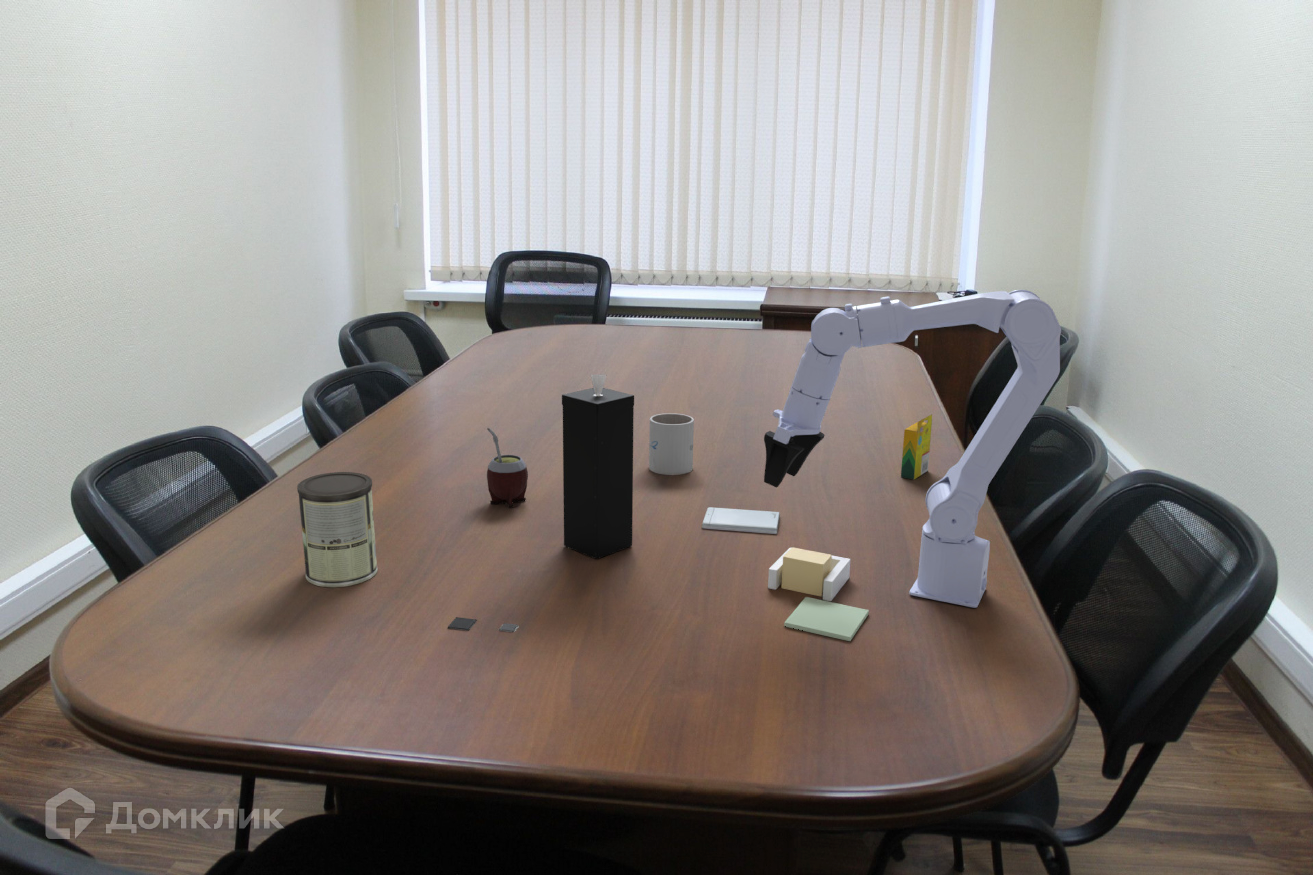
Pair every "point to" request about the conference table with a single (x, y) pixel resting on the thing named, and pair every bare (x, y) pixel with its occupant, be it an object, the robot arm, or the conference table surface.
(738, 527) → the hard drive
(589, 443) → the tall black box
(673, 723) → the conference table surface
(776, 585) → the frame
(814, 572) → the block
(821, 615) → the mat
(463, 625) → the black square blocks
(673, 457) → the mug
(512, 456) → the mate gourd
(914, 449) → the crayon box
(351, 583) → the coffee can
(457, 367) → the conference table surface
